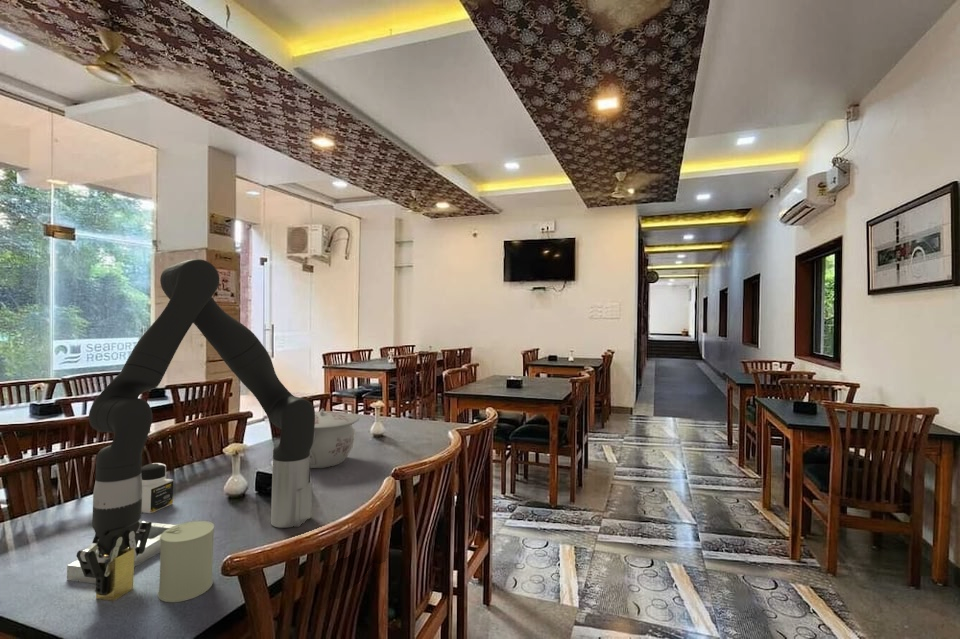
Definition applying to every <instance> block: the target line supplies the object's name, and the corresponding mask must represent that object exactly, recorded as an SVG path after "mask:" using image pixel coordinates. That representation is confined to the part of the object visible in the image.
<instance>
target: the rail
mask: <svg viewBox="0 0 960 639" xmlns="http://www.w3.org/2000/svg"><path fill="white" fill-rule="evenodd" d="M151 523H152V525H151V529H150V532H149V536H148V539H147V543H146V546H145V550H144V552H143V553H142V554H139V555H138V556H137V558H136V560H135V561H134V568H135V567H137V566H140V565H141V564H143V563H144V562H146V561H147V560H149V559H151V558H153V557H154V556H156V555H157V554H159V553H161V539H160V536H161V534H162V533H163V532H164V531H165V530H167V529H169V528H171V527H173V526H176V525H177V524H169V523H159V522H151ZM139 544H140V540H139V541H138V544H137V547H139ZM70 580H72V582H78V581H79V583H89V584H95V585H96V578H89V577H85V576H84V574H83V571H82V568H81V566H80V563H79V561H78V559H77V560H75V561H73V562H71V563H69V564H67V565H66V581H70Z"/></svg>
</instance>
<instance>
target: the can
mask: <svg viewBox="0 0 960 639" xmlns="http://www.w3.org/2000/svg"><path fill="white" fill-rule="evenodd" d="M175 525H176V526H173V527H171V528H169V529H167V530H165V531H164V532H163V533H162V534H161V536H160V539H161V552H160V557H159V558H160V560H159V562H160V563H159V564H160V565H159V587H158V593H157V597H158V598H159V600H160V601H162V602H164V603H165V602H166V603H180V602H185V601H189V600H192V599H195V598H197V597H200V596H201V595H203V594H204V593H206V592H207V591H208V590H210V588H212V586H213V583H214V579H213V562H214V561H213V560H214V559H213V558H214V532H215V524H214V523H212V522H211V521H208V520H207V521H205V520H193V521H189V522H188V521H187V522H182V523H179V524H175Z"/></svg>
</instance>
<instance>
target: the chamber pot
mask: <svg viewBox="0 0 960 639" xmlns="http://www.w3.org/2000/svg"><path fill="white" fill-rule="evenodd" d="M359 420H360V416H358V415H356V414H352V413H349V412H345V411H333V410H332V411H331V410H328V411H327V410H325V408H320V411H315V427H314V439H313V444H312V447H311V449H310V466H309V469H312V468H321V469H326V468H325V467H328V468H331V467H330V466H332V467H334V466H337V465H339V464H342V463H343V462H344V461H345V460H346V459H347V458H348V456H349V454H350V453H351V452H352V449H353V446H354V442H355V437H356V436H355V435H356V429H355V428H354V426H353V425H355V424H356V423H357V422H359Z"/></svg>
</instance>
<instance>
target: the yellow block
mask: <svg viewBox="0 0 960 639" xmlns="http://www.w3.org/2000/svg"><path fill="white" fill-rule="evenodd" d="M109 556H110V555H104V556H103V557H106V558H109ZM104 567H105V563H103V569H104ZM110 574H111V588H110V593H109V594H108V595H106V596H103V595H98V594H97V593H96V592H95V599H96V598H97V600H104V601H106V600H107V601H117V600H118V599H119V598H121V597H122V596H124V595H125V594H127V593H128V592H130V591H133V590H134V575H135V567H134V548H133V549H128V548H127V549H125V550H121V551H120V552H118V555H117V557H116V558H114V562H112V569H111V573H110Z"/></svg>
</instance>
